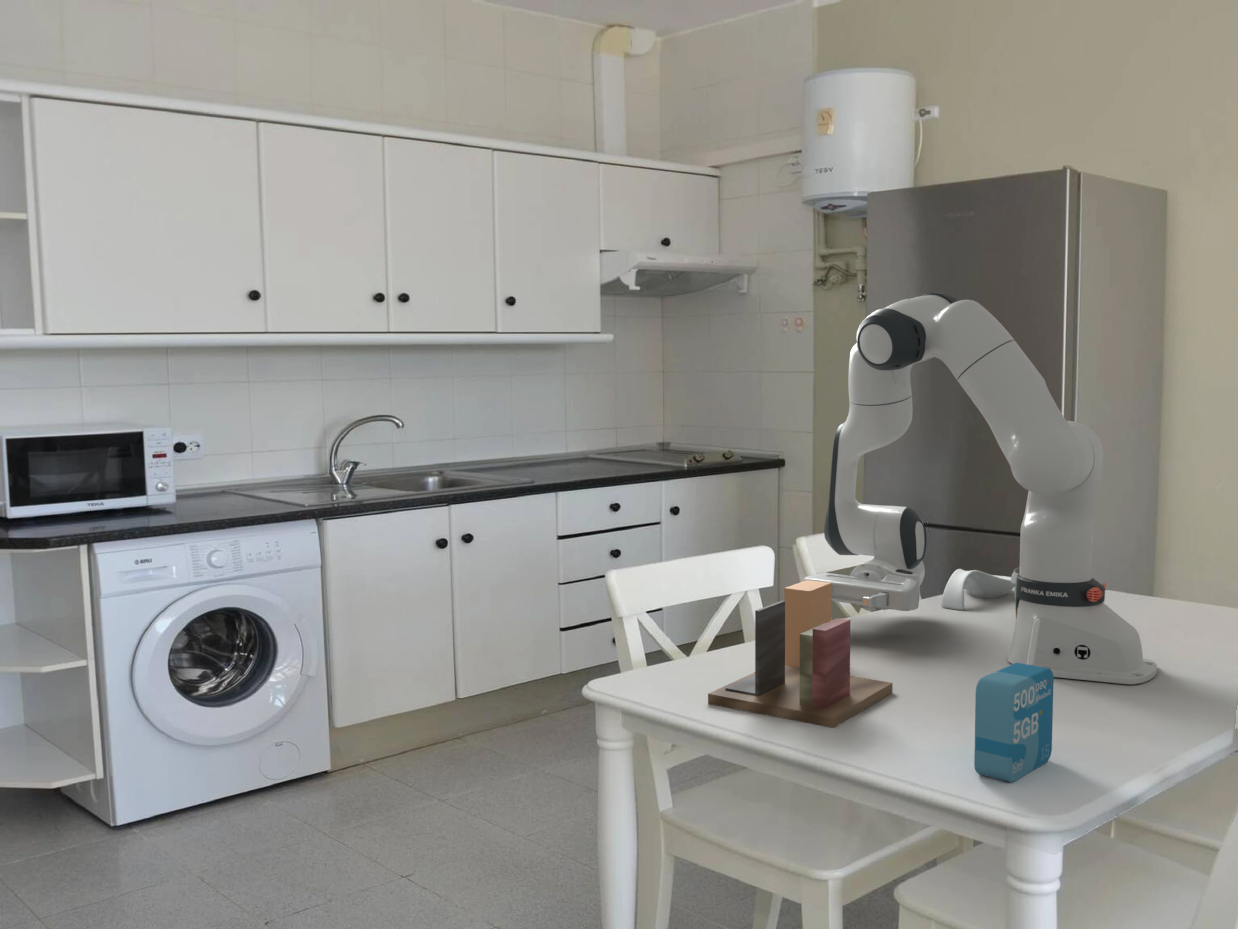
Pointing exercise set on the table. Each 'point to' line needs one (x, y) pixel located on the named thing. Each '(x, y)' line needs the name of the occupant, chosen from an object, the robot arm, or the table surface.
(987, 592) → the spoon rest
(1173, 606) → the table surface
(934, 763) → the table surface
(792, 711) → the wooden bookend stand
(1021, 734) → the data package
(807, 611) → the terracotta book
